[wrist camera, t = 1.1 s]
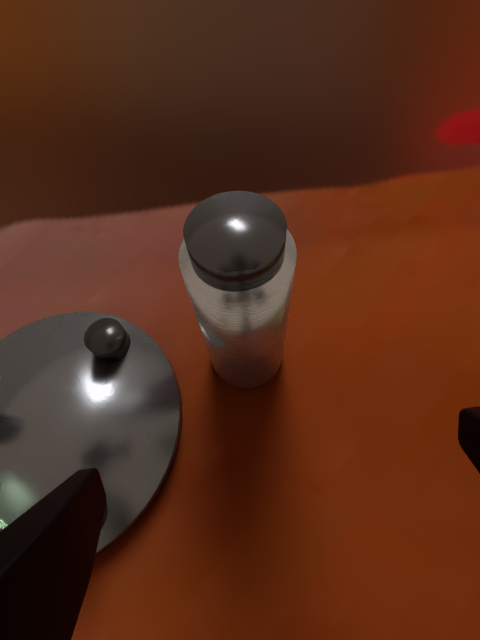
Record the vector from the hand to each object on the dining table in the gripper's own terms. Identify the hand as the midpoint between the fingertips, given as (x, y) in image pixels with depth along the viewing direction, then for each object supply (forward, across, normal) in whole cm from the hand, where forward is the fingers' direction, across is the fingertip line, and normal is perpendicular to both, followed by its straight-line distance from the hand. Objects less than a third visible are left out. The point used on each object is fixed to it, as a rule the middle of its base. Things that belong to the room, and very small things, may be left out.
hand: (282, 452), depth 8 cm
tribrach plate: (+13, +13, +6) cm, 19 cm away
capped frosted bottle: (+15, 0, +3) cm, 16 cm away
